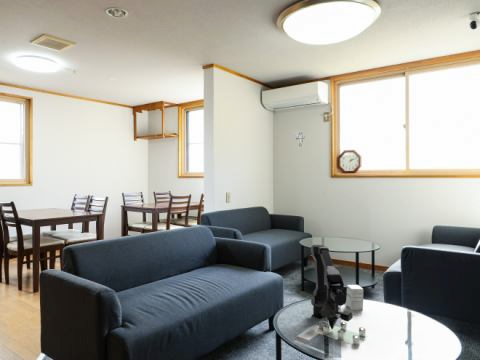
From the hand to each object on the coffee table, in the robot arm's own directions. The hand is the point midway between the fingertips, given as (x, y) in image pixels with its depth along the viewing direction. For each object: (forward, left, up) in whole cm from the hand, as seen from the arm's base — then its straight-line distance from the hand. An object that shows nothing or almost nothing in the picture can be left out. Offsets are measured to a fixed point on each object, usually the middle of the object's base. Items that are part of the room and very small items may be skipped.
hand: (332, 328), depth 170 cm
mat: (+4, 0, -2) cm, 5 cm away
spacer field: (+7, 0, -1) cm, 7 cm away
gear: (-4, 0, -1) cm, 4 cm away
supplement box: (-4, +39, -2) cm, 39 cm away
